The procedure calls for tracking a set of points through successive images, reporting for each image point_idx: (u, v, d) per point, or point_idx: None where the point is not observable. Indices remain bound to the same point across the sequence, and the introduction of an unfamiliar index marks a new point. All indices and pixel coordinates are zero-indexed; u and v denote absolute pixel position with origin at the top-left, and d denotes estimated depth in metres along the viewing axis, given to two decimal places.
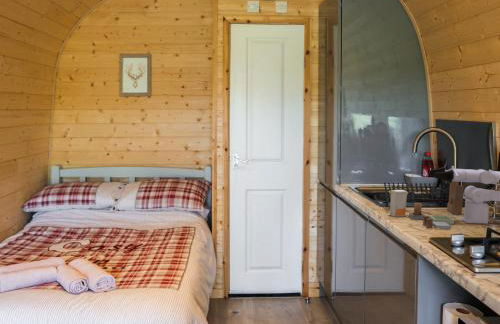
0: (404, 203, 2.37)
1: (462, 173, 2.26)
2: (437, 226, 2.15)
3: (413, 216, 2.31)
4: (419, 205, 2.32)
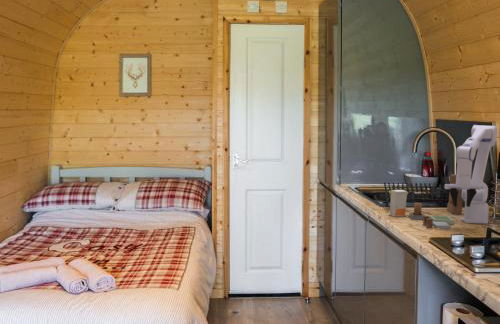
0: (404, 203, 2.37)
1: (470, 178, 2.14)
2: (437, 226, 2.15)
3: (413, 216, 2.31)
4: (419, 205, 2.32)
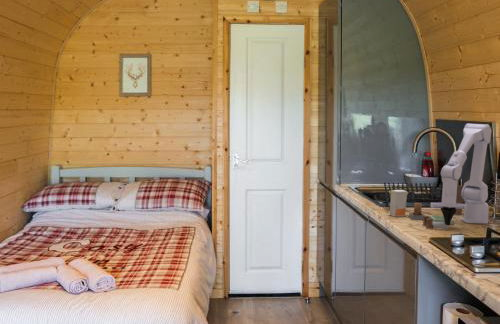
0: (404, 203, 2.37)
1: None
2: (434, 226, 2.15)
3: (413, 216, 2.31)
4: (419, 205, 2.32)
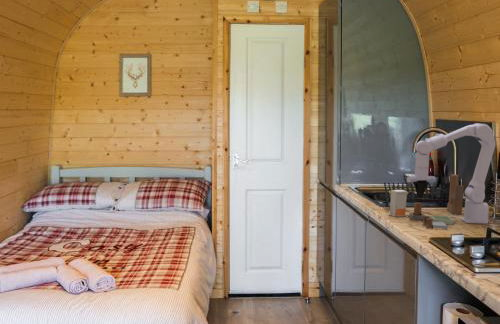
0: (404, 203, 2.37)
1: None
2: (434, 226, 2.15)
3: (413, 216, 2.31)
4: (419, 205, 2.32)
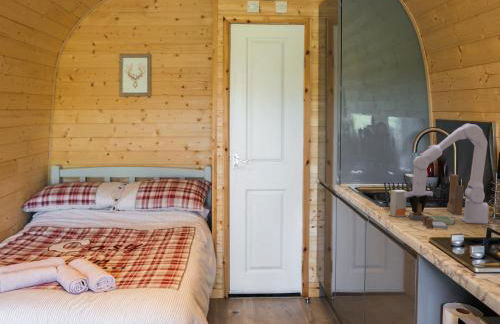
0: (404, 203, 2.37)
1: None
2: (434, 226, 2.15)
3: (413, 216, 2.31)
4: (419, 205, 2.32)
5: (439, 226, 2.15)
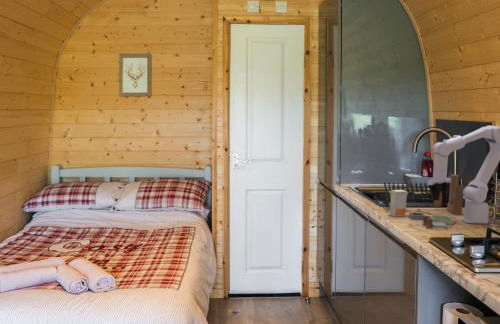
0: (404, 203, 2.37)
1: None
2: (435, 226, 2.15)
3: (413, 216, 2.31)
4: (441, 193, 2.26)
5: (439, 226, 2.15)
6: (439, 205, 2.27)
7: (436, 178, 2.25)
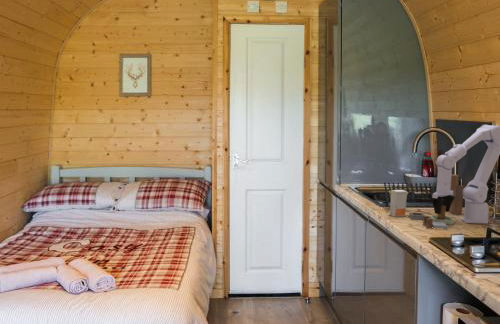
0: (404, 203, 2.37)
1: None
2: (435, 226, 2.15)
3: (413, 216, 2.31)
4: (444, 207, 2.26)
5: (439, 226, 2.15)
6: None
7: (440, 191, 2.24)
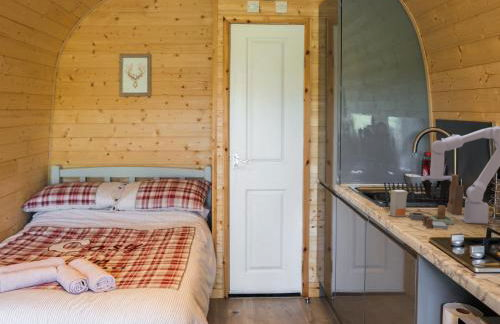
0: (404, 203, 2.37)
1: (443, 170, 2.32)
2: (435, 226, 2.15)
3: (413, 216, 2.31)
4: (444, 207, 2.26)
5: (439, 226, 2.15)
6: None
7: (431, 175, 2.33)
